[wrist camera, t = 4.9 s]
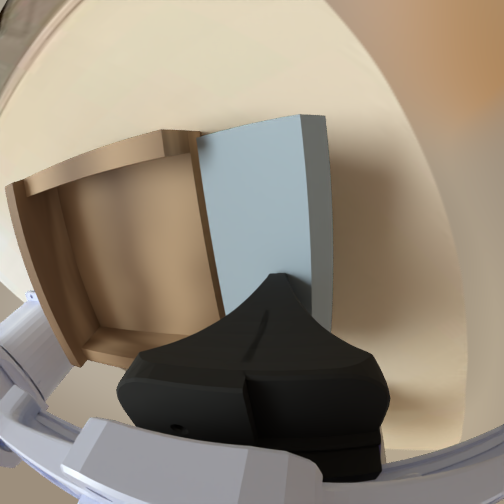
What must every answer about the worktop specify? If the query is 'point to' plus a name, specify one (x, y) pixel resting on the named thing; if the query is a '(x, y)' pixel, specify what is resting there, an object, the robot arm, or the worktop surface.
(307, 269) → the panel
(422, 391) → the worktop surface
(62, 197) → the brown open rectangular box
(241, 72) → the worktop surface
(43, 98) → the worktop surface
